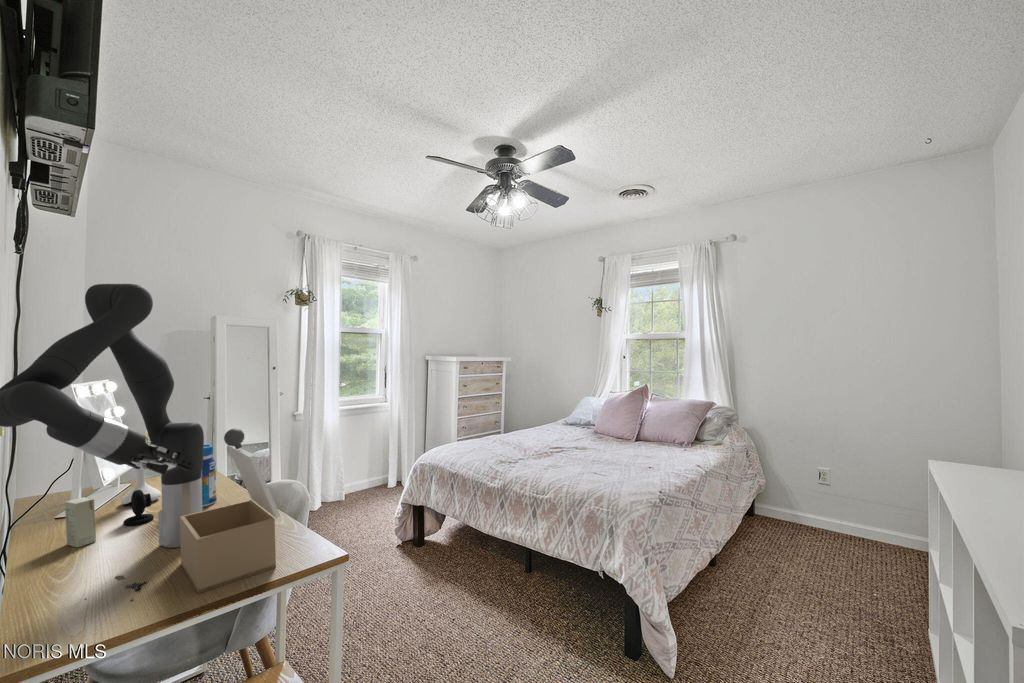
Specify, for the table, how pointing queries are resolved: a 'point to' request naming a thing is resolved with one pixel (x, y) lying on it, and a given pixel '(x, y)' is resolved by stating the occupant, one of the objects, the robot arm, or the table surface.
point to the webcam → (138, 509)
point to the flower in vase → (141, 483)
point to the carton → (226, 544)
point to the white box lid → (250, 472)
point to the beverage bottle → (208, 477)
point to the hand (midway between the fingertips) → (178, 468)
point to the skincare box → (80, 522)
